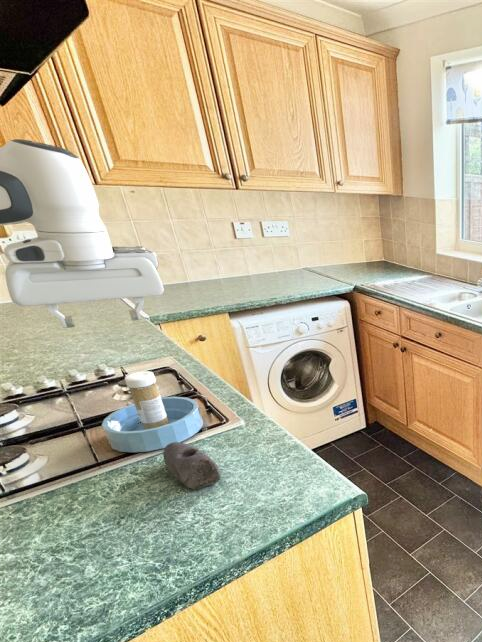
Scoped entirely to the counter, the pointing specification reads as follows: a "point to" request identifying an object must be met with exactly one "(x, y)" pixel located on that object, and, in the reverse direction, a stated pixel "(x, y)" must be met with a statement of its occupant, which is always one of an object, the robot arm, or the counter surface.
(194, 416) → the bowl
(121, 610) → the counter surface
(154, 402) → the sprinkles bottle
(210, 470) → the perforated stone tool
